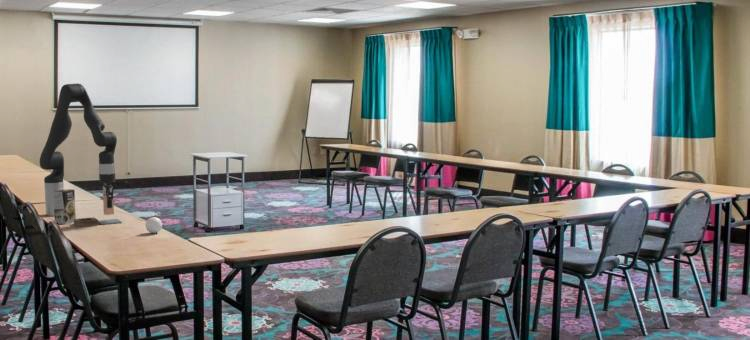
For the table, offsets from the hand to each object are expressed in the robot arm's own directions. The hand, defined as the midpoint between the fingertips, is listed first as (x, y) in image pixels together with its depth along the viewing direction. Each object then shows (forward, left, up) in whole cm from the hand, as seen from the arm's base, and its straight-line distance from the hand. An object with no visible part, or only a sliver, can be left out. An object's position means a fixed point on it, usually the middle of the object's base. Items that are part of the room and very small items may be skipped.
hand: (108, 207), depth 393 cm
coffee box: (-12, -18, -8) cm, 24 cm away
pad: (0, 0, -8) cm, 8 cm away
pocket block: (0, -11, -8) cm, 13 cm away
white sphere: (+40, +10, -8) cm, 42 cm away
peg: (0, 0, -4) cm, 4 cm away
